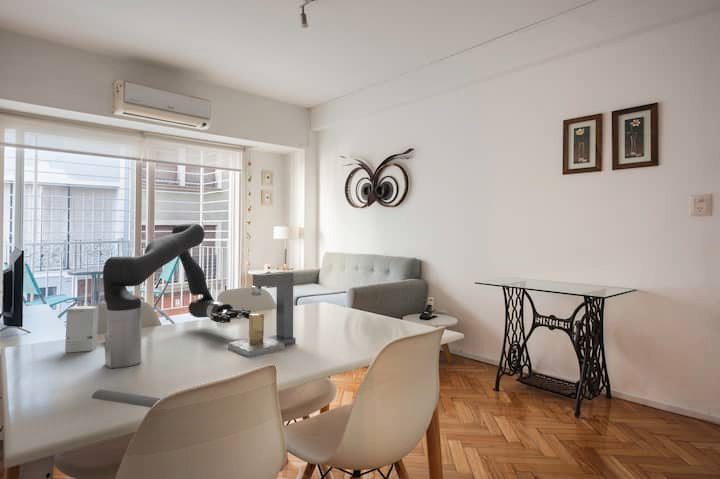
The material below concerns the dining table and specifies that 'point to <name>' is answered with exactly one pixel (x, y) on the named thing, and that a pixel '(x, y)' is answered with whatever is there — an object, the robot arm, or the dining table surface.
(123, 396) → the half round rod
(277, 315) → the press
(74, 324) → the skincare box
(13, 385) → the dining table surface
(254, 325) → the cylinder
